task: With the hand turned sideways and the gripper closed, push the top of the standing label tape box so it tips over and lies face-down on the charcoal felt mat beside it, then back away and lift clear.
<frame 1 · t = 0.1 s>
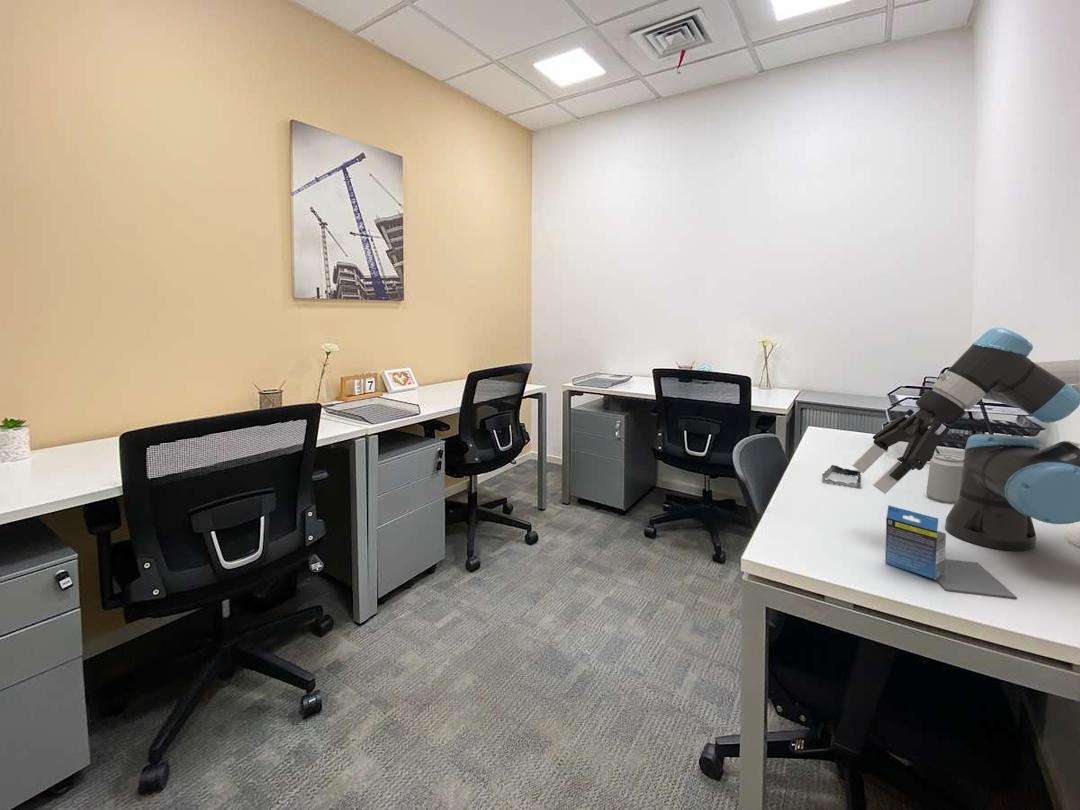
hand: (867, 478, 106), 15 cm above the table, tool tilted 35°, fingers open, 13 cm apart
label tape box: (913, 570, 99), on the table, touching felt mat
can: (943, 499, 135), on the table
felt mat: (962, 576, 96), on the table
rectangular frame: (842, 481, 152), on the table
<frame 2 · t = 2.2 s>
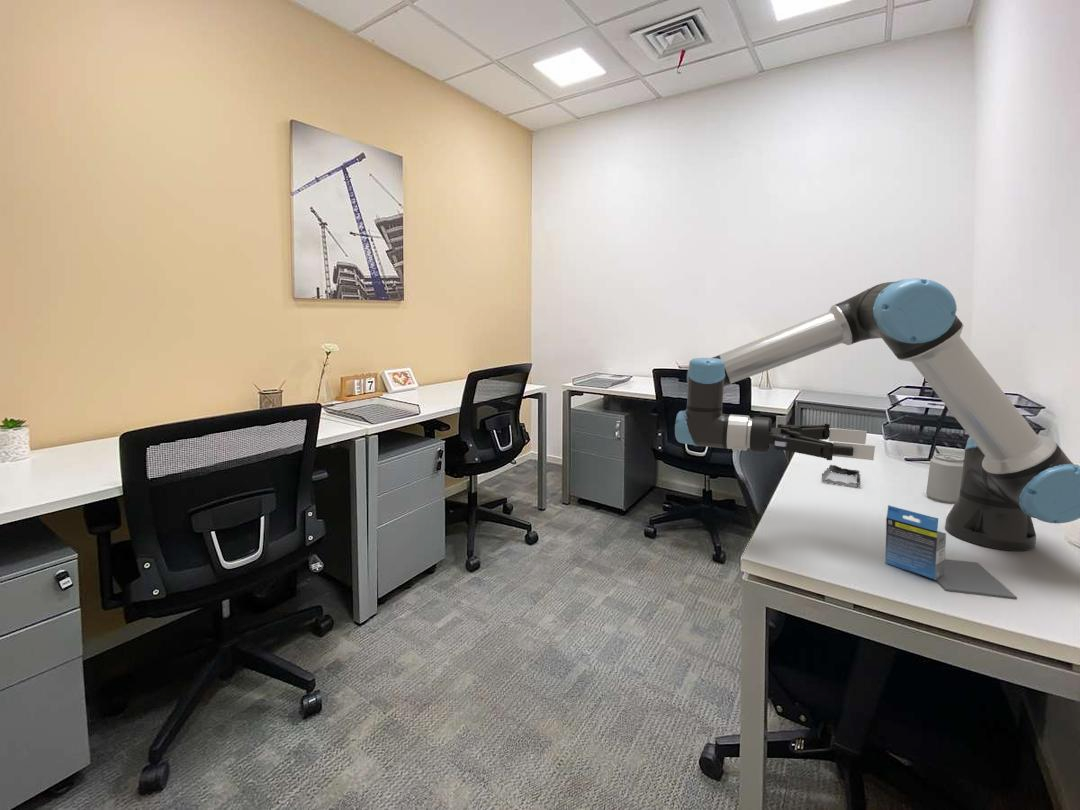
hand: (869, 444, 98), 24 cm above the table, tool horizontal, fingers open, 12 cm apart
nothing on the table moved.
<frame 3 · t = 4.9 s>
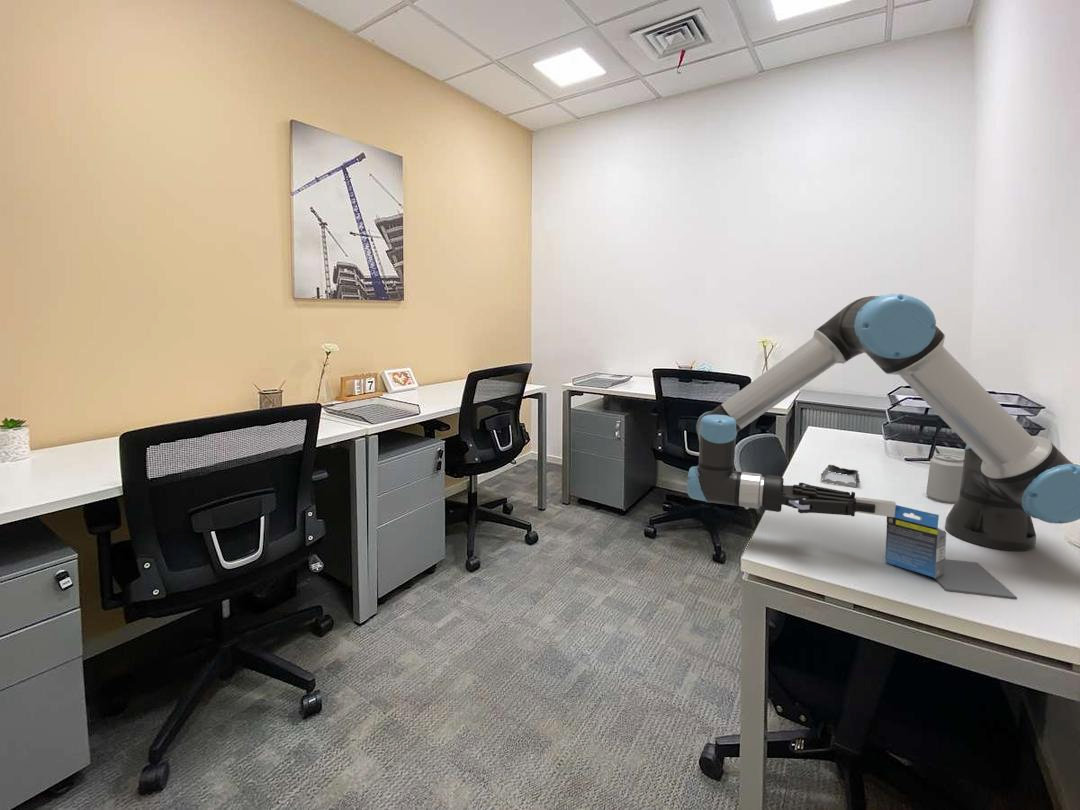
hand: (894, 509, 98), 12 cm above the table, tool horizontal, fingers closed
label tape box: (913, 569, 99), on the table, touching felt mat, gripper
everything else where it was.
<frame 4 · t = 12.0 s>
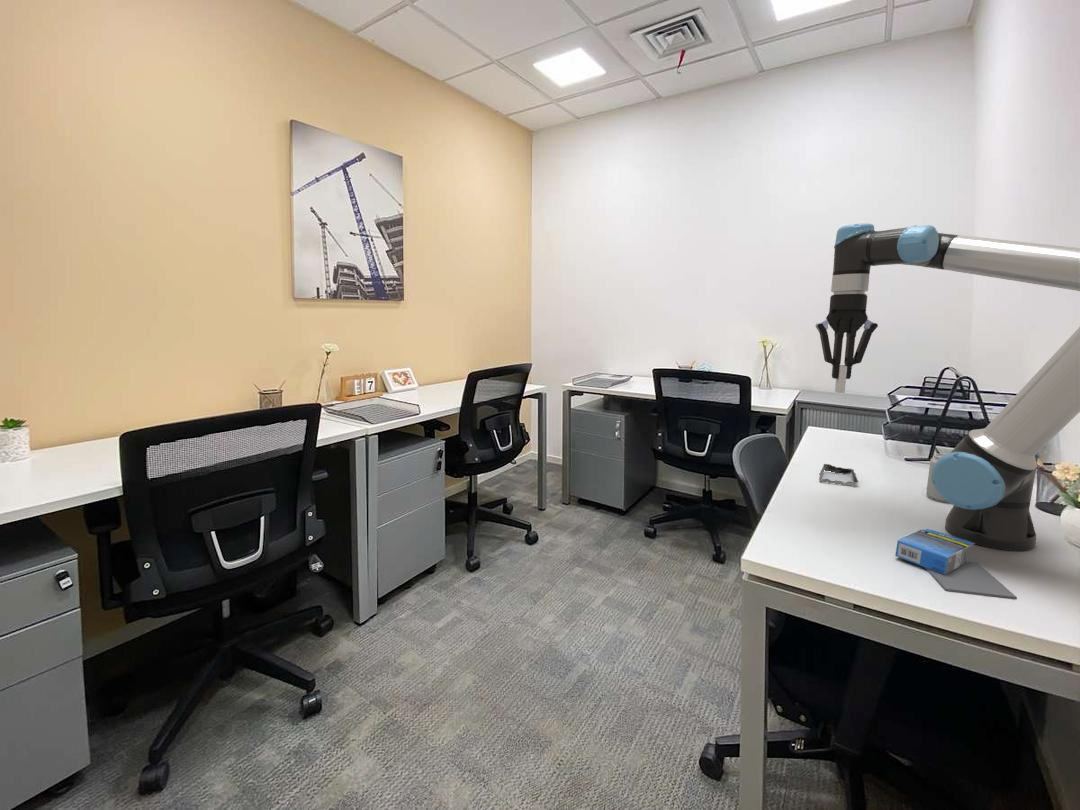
hand: (839, 392, 124), 30 cm above the table, tool pointing down, fingers closed
label tape box: (919, 556, 99), point 3 cm above the table, touching felt mat
at the end: label tape box tilted 92°; label tape box touching felt mat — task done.
